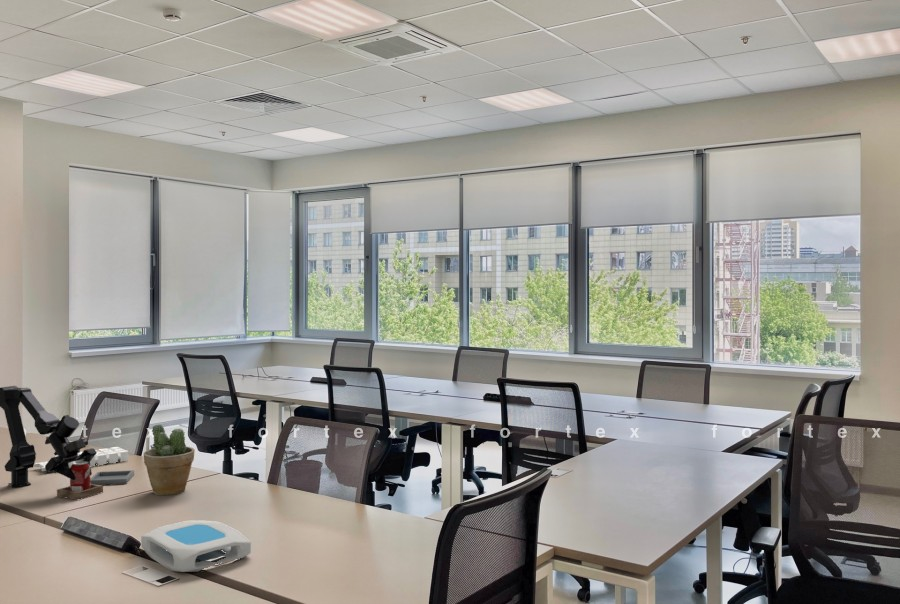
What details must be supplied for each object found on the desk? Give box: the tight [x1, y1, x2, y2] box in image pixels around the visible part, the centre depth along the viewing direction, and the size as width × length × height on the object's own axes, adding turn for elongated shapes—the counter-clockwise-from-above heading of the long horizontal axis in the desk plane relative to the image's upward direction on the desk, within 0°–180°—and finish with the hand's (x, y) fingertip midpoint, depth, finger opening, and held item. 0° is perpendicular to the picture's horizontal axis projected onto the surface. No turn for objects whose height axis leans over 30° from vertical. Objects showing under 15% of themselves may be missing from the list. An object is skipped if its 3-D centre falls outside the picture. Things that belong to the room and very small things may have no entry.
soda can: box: [69, 461, 91, 492], centre depth 275 cm, size 7×7×12 cm
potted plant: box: [143, 424, 196, 496], centre depth 280 cm, size 18×19×25 cm
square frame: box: [56, 484, 104, 500], centre depth 275 cm, size 11×11×2 cm
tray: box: [90, 469, 135, 486], centre depth 296 cm, size 14×14×2 cm
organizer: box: [33, 446, 130, 472], centre depth 321 cm, size 13×5×35 cm
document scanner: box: [140, 519, 252, 573], centre depth 214 cm, size 21×28×6 cm
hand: (82, 477), depth 275 cm, fingers closed on soda can, 7 cm apart
